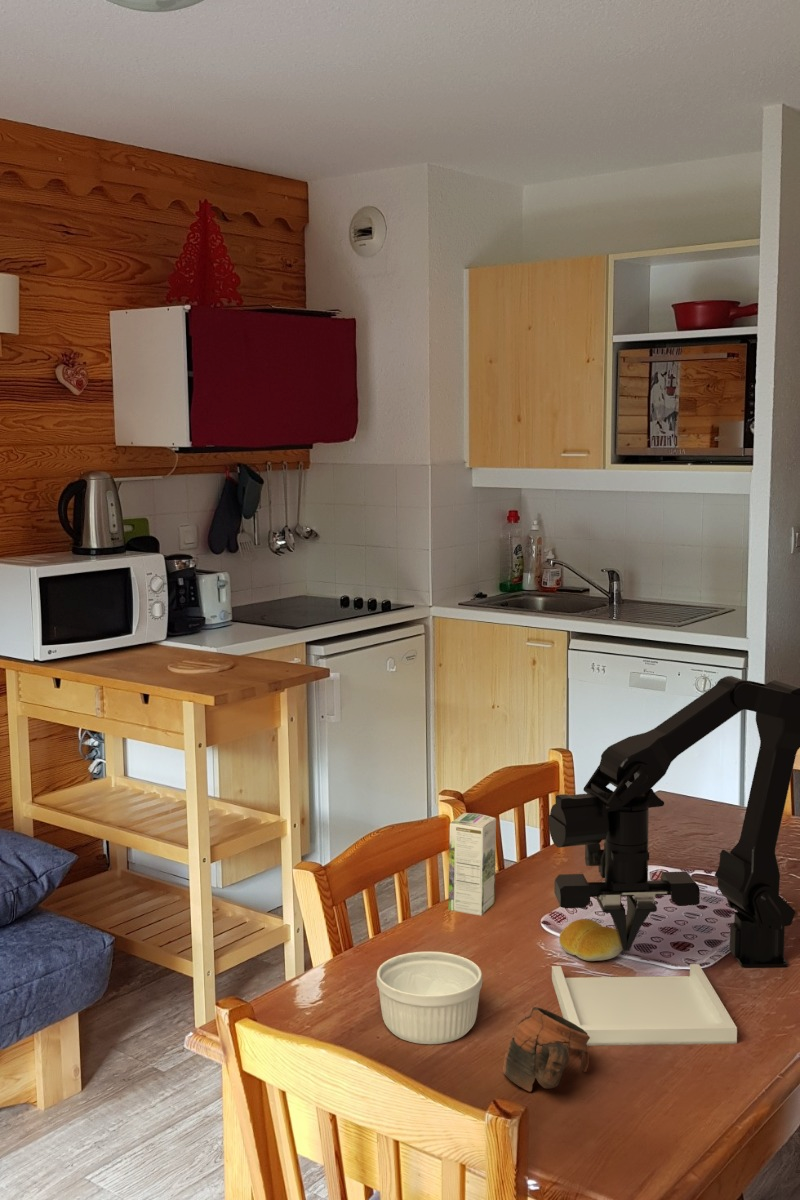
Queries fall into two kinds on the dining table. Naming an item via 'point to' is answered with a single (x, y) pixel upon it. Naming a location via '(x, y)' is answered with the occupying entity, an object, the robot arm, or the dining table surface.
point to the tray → (645, 1009)
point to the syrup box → (472, 863)
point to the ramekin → (429, 996)
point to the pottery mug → (543, 1049)
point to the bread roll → (590, 940)
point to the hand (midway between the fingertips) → (625, 949)
